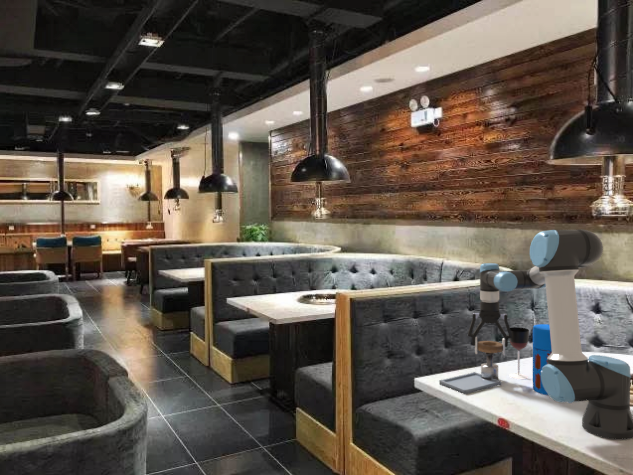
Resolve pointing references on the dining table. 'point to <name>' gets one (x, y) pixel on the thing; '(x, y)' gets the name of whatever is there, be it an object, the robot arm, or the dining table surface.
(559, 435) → the dining table surface
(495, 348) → the ring
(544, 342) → the thermos
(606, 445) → the dining table surface
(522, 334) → the wineglass
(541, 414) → the dining table surface
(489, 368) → the metal peg stand
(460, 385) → the tray
